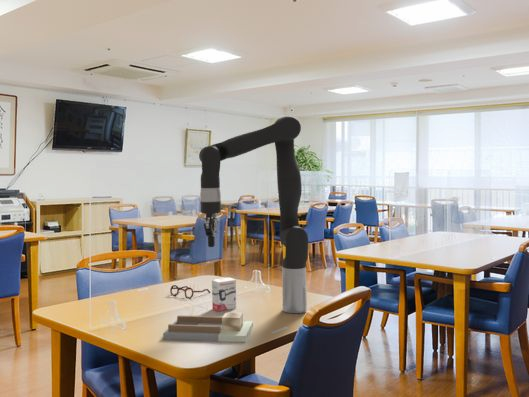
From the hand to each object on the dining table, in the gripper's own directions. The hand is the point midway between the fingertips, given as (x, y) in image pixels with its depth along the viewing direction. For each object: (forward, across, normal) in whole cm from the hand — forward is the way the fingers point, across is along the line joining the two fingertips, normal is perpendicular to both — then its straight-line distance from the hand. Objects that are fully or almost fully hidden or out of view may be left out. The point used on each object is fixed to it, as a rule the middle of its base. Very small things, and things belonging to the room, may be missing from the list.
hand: (211, 246), depth 191 cm
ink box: (+27, +12, -2) cm, 30 cm away
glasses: (+28, +35, +18) cm, 48 cm away
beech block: (+25, -18, -11) cm, 33 cm away
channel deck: (+27, -18, -3) cm, 32 cm away
